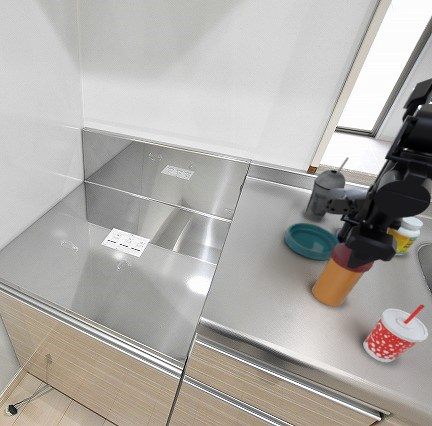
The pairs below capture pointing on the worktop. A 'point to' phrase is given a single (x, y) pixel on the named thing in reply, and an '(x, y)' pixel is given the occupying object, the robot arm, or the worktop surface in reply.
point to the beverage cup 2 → (395, 334)
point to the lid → (347, 258)
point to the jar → (334, 284)
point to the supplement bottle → (406, 234)
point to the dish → (311, 240)
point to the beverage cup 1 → (323, 192)
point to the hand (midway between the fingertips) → (353, 255)
